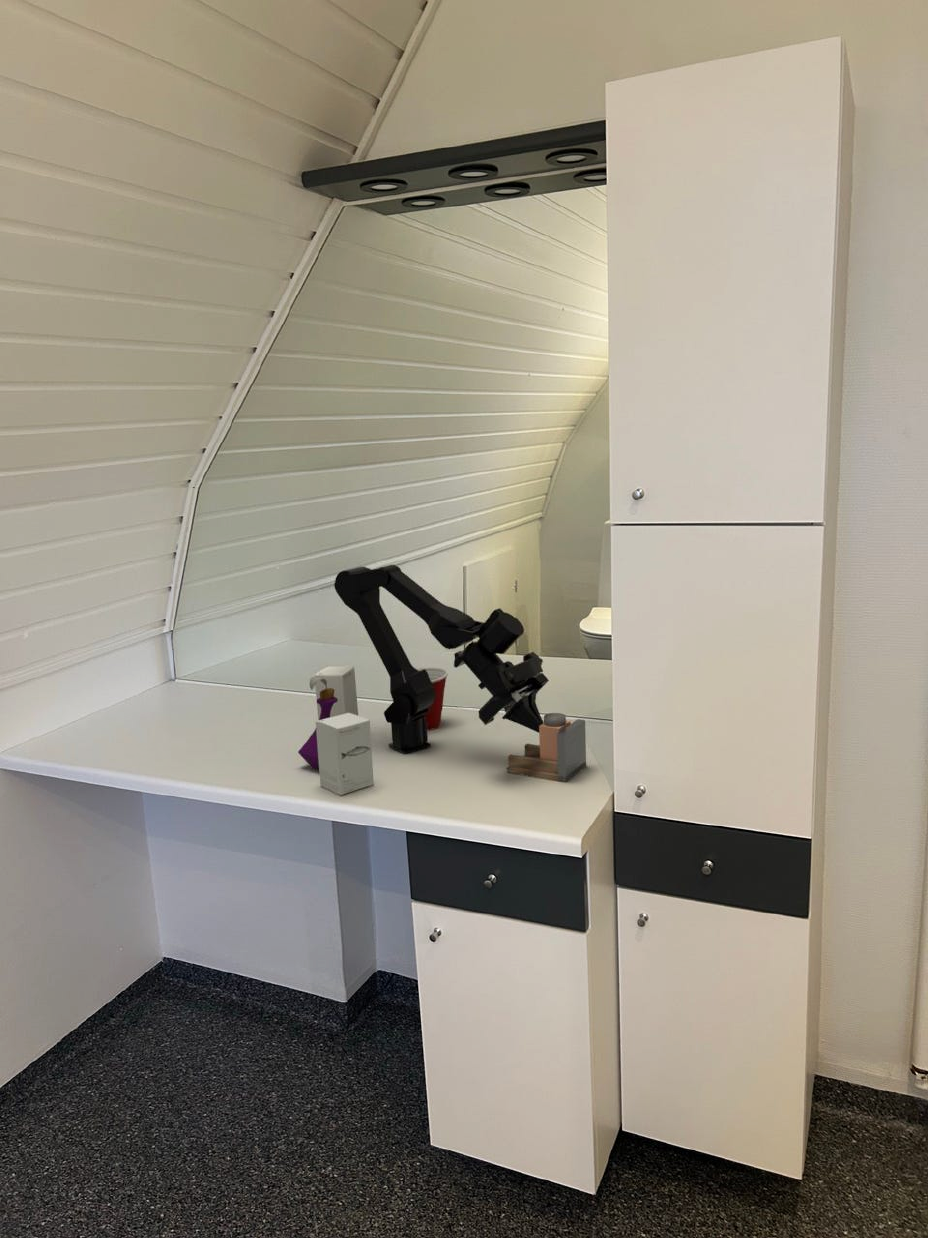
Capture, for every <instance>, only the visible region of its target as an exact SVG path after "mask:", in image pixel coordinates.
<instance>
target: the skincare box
mask: <svg viewBox="0 0 928 1238" xmlns="http://www.w3.org/2000/svg"><path fill="white" fill-rule="evenodd" d="M313 677H320V678H323V679H325V680H326V681H327V688H333V689H335V691H334V697H336V698H337V699H338V701H337V702H336V703H334V704H333V706H332V708H331V712H330V717H334V716H338V715H342V714H346V713H351V714H354V715H357V716H359V710H358V709H359V708H358V696H357V684H356V672H355V666H354V665H347V666H346V665H342V666H340V665H339V666H338V665H337V666H326V667H325V668H323V669H321V670H319V671H318V672H316V673H315V674H314V675H313ZM314 688H315V697H316V700H317V699H318V698H320V694H319V693H320V692H321V691H322V690H324V689H326V686H325V684H324V683H323V682H321V681H320V680H319V681H318V682H317V683H316V684H315V686H314ZM316 707H317V708H316V709H317V718H318V720H319V718H320V714H321V707H320V705H319V704H318V703H317V702H316ZM318 720H317V721H318Z"/></svg>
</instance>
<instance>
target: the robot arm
mask: <svg viewBox="0 0 928 1238" xmlns="http://www.w3.org/2000/svg"><path fill="white" fill-rule="evenodd" d="M333 586H334V587H333V588H334V590H335V592H336V594H337V595H338V597H339V598H340V600H341V601H342V602H343V604H344V605H345V606H346V607H347V608H349V609H350V610H351V611H352V612H354V613H356V614H357V615H358V617H359V619H360V621H361V623H362V626H363V628H364V630H365V631H366V633H367V635H368V637H369V639H370V641H371V642H372V644H373V646H374V649H375V650H376V653H377V655H378V656H379V659H380V661H381V662H382V664H383V666H384V667H385V669H386V672H387V673H388V676H389V687H390V689H389V693H390V696H391V699H392V703H391V704H390V705H389V706H388V707H387V708H386V709H385V710H384V711H383V715H384V718H385V721H386V723H390V725H391V742H390V743H388V744H387V745H388V747H389V748H390V749H394V750H396V751H397V752H400V753H402V754H408V753H413V752H415V751H420V750H424V749H427V748H430V747H432V746H431V745H432V744H431V743H429V742H428V740H429V737H428V735H429V734H428V730H427V723H426V722H425V716H423V715H425V714H428V713H429V709H430V706H431V705H432V704H433V702H434V699H435V696H436V695H435V691H434V688H433V687H435V685H434V684H433V683H432V682H431V680H430V678H429V675H428V673H427V671H426V670H425V669H423V670H421V671H418V670H417V668H415V667H414V666H413V665H412V663H411V661H410V659H409V657H408V655H407V653H406V652H405V649H404V648H403V646H402V644H401V642H400V640H399V638H398V637H397V634H396V633H395V630H394V628H393V627H392V625H391V623H390V620H389V619H388V618H387V615H386V613H385V611H384V609H383V608H382V605H381V603H380V601H381V600H380V597H381V596H380V595H381V593H380V592H381V591H380V588H383V589H384V590H386V591H387V592H388V593H389V594H391V595H392V596H393V597H394V598H396V599H397V600H398V601H399V602H400V603H401V604H403V605H404V606H405V607H407V608H408V609H409V611H412V612H413V613H414V614H415V615H416V616H418V617H419V618H420V619H422V620H423V621H424V623H425V624H426V625H427V626H428V629H429V632H430V634H431V635H432V636H433V637H434V639H436V641H437V642H438V643H439V644H440V645H441V646H442V647H443V648H445V649H446V650H454V649H455V650H456V649H457V648H459V647H462V646H464V645H467V646H466V647H464V649H463V650H459V651H457V652H454V659H453V667H454V668H458V667H461V666H464V665H465V666H467V668H468V669H469V670H470V671H471V672H472V674H473V675H474V676H475V677H476V678H477V680H479V682H480V683H479V684H478V688H480V689H481V690H483V689H486V690H487V691H488V692H489V693H490V695H491V697H490V698H489V699H488V701H486V703H484V705H483V706H482V707H481V708H480V709H479V710H478V719H479V720H481V722H482V723H483V724H484V725H485V726H486V725H489V724H490V723H492V722H493V721H494V720H495V717H496V715H498V714H499V712H500V711H501V710H503V711H504V712H505V714H504V715H503V716H502V717H501V719H503V720H508V721H510V722H514V723H516V724H518V725H520V726H522V727H525V728H527V729H529V730H531V731H534V732H536V733H539V726H540V725H542V724H543V723H544V719H543V718H542V716H541V714H540V711H539V708H538V705H537V702H536V700H537V695H538V693H539V691H541V689H542V688H543V687H544V686H545V685H547V683H548V682H549V681H550V680H549V679H548V677H547V676H546V675H545V674H544V670H543V667H542V665H543V663H544V660H543V659H542V658H541V657H539V655H538V654H537V653H536V652H534V651H531V652H529V653H527V654H525V655H523V657H522V661H521V662H519V663H517V664H513V662H512V661H510V660H506V661H503V660H502V658H501V657H500V656H499V655H503V654H506V652H507V651H509V649H510V648H511V647H513V645H514V644H515V643H516V642H517V641H518V640H519V639H520V637H522V635H524V632H525V629H524V625H523V624H522V622H521V621H520V619H518V618H517V617H515V616H514V615H512V614H510V613H508V612H505V611H503V609H502V608H496V609H494V610H493V611H492V612H491V613H490V615H489V617H488V618H487V619H486V620H485V621H484V622H482V621H478V620H475V619H474V618H473V617H472V616H470V615H469V614H467V613H465V612H464V611H462V610H459V609H457V608H455V607H451V606H448V605H445V604H443V603H442V602H441V601H439V600H438V599H437V598H435V597H434V596H433V595H432V594H431V593H429V592H428V591H427V590H425V589H424V588H423V587H422V586H420V585H419V584H418V583H417V582H416V581H414V580H413V579H411V577H409V576H408V575H407V574H406V573H404V572H403V571H402V569H401V568H400V567H399V566H398V565H396V564H388V565H384V566H381V567H378V568H373V569H371V568H369V567H367V566H358V567H353V568H349V569H345V570H341V571H339V573H338V574H337V575H336V576H335V580H334V584H333ZM477 638H478V640H477V641H476V642H473V641H474V640H475V639H477ZM498 654H499V655H498Z"/></svg>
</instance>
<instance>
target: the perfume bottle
mask: <svg viewBox="0 0 928 1238" xmlns="http://www.w3.org/2000/svg"><path fill="white" fill-rule="evenodd" d="M319 680H320V681H321V682H323V683H324V684H325V686H326V689H324V690H322V691H321V692H320V693H319V694H320V698H318V699H317V698H316V704H317V703H318V704H319V705H320V707H321V714H320V718H319V720H322V719H326V718H330V712H331V708H332V706H333V704H334V703H336V702H337V701H338V699H337V698H336V697H334V691H335V689H333V688H327V681H326V680H325V679H323V678H320V677H314V676H312V677H311V678H310V679H309V688H310V689H311V691H313V689H314V688H315V684H316V683H317V682H318V681H319ZM297 753H298V755H300V756H301V758H302V759H304V761H305V762H306V763H307V764H308V765H309V766H310V767H311V768H314V769H317V770H319V760H318V746H317V733H316V728H315V729H314V731H313V732H312V733H311V735H310V736H309V738H308V739H307V740H306V742H305V743H304V744H303V745H302V746H301V748H300V749H298V752H297Z"/></svg>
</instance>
